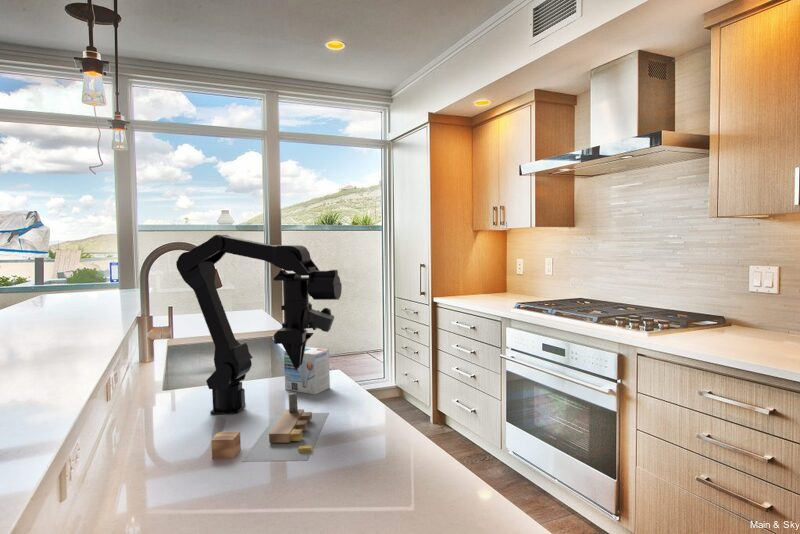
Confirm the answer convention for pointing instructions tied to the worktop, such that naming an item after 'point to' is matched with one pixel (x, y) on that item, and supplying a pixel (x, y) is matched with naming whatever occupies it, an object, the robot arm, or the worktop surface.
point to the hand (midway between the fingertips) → (298, 366)
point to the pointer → (305, 449)
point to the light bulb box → (308, 372)
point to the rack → (290, 423)
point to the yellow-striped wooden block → (226, 445)
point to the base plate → (286, 450)
